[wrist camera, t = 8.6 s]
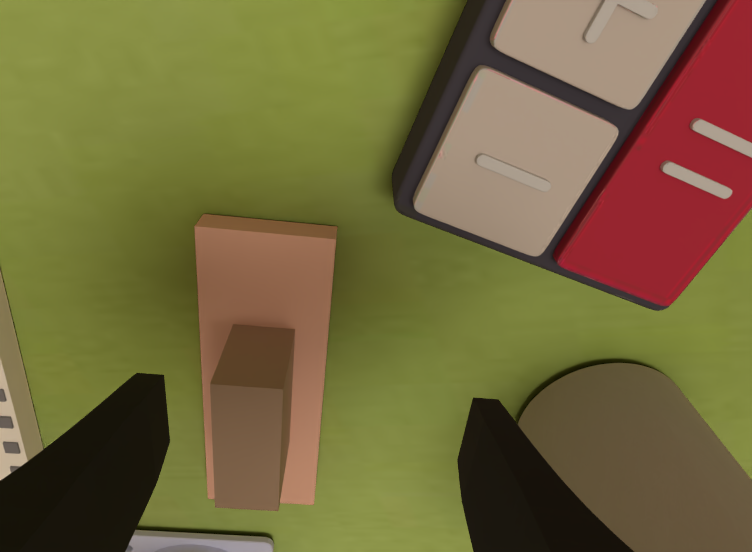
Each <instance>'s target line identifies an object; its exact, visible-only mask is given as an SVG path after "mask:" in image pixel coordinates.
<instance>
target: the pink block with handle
mask: <svg viewBox="0 0 752 552" xmlns="http://www.w3.org/2000/svg"><path fill="white" fill-rule="evenodd" d="M336 238H337V226H327V225H316V224H306V223H295V222H284V221H274V220H263V219H253V218H242V217H232V216H221V215H210V214H203V215H202V216H201V218H200V219H199V221H198V222H197V224H196V225H195V246H196V267H197V287H198V307H199V327H200V348H201V368H202V388H203V408H204V429H205V449H206V469H207V489H208V499H215V507H216V508H233V509H251V510H268V511H278V510H279V504H280V503H290V504H307V505H314V497H315V487H316V475H317V463H318V451H319V440H320V428H321V416H322V404H323V392H324V380H325V368H326V356H327V345H328V333H329V321H330V309H331V297H332V285H333V273H334V261H335V250H336Z"/></svg>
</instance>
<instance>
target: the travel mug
mask: <svg viewBox="0 0 752 552" xmlns="http://www.w3.org/2000/svg"><path fill="white" fill-rule="evenodd" d="M518 426H519V427H520V429H521V430H522V431H523V432H524V434H525V435H526V436H527V438H528V439H529V440H530V441H531V443H532V444H533V445H534V447H535V448H536V449H537V450H538V452H539V453H540V454H541V455H542V456H543V458H544V459H545V460H546V461H547V463H548V464H549V465H550V466H551V467H552V469H553V470H554V471H555V472H556V473H557V475H558V476H559V477H560V478H561V479H562V480H563V481H564V483H565V484H566V485H567V486H568V487H569V488H570V489H571V490H572V491H573V492H574V493H575V495H576V496H577V497H578V498H579V499H580V500H581V501H582V502H583V503H584V504H585V505H586V506H587V507H588V508H589V509H590V510H591V511H592V512H593V513H594V514H595V515H596V516H597V517H598V518H599V519H600V520H601V521H602V522H603V523H604V524H605V525H606V526H607V527H608V528H609V529H610V530H611V531H612V532H613V533H614V534H615V535H616V536H618V537H619V538H620V539H621V540H622V541H623V542H624V543H625V544H626V545H627V546H629V547H630V548H631V549H632V550H633V551H634V552H752V480H751V479H750V477H749V476H748V475H747V474H746V472H745V471H744V470H743V469H742V467H741V466H740V465H739V463H738V462H737V461H736V460H735V458H734V457H733V456H732V455H731V453H730V452H729V451H728V450H727V448H726V447H725V446H724V445H723V443H722V442H721V441H720V439H719V438H718V437H717V436H716V434H715V433H714V432H713V431H712V429H711V428H710V427H709V426H708V424H707V423H706V422H705V421H704V419H703V418H702V417H701V416H700V414H699V413H698V412H697V410H696V409H695V408H694V407H693V405H692V404H691V403H690V402H689V400H688V399H687V398H686V397H685V395H684V394H683V393H682V392H681V390H680V389H679V388H678V387H677V385H676V384H675V383H674V382H673V381H672V380H671V379H670V378H668V377H667V376H665V375H664V374H662V373H660V372H659V371H657V370H654V369H652V368H649V367H645V366H642V365H637V364H629V363H608V364H601V365H595V366H591V367H587V368H583V369H580V370H577V371H575V372H572V373H570V374H568V375H566V376H563V377H562V378H560V379H558V380H556V381H555V382H553V383H552V384H550V385H549V386H547V387H546V388H545V389H543V390H542V391H541V392H540V393H539V394H538V395H537V396H536V397H535V398H534V399H533V400H532V401H531V402H530V403H529V405H528V406H527V407H526V409H525V410H524V412H523V413H522V415H521V417H520V419H519V422H518Z"/></svg>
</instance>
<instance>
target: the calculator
mask: <svg viewBox="0 0 752 552" xmlns="http://www.w3.org/2000/svg"><path fill="white" fill-rule="evenodd" d="M392 184H393V198H394V205H395V208H396V210H397V211H398V212H399V213H401V214H402V215H405V216H407V217H410V218H412V219H415V220H417V221H420V222H423V223H425V224H428V225H431V226H433V227H436V228H438V229H441V230H444V231H446V232H449V233H452V234H454V235H457V236H459V237H462V238H465V239H467V240H470V241H473V242H475V243H478V244H481V245H483V246H486V247H488V248H491V249H494V250H496V251H499V252H502V253H504V254H507V255H509V256H512V257H515V258H517V259H520V260H523V261H525V262H528V263H530V264H533V265H536V266H538V267H541V268H544V269H546V270H549V271H551V272H554V273H557V274H559V275H562V276H565V277H567V278H570V279H573V280H575V281H578V282H580V283H583V284H586V285H588V286H591V287H594V288H596V289H599V290H601V291H604V292H607V293H609V294H612V295H615V296H617V297H620V298H622V299H625V300H628V301H630V302H633V303H636V304H638V305H641V306H643V307H646V308H649V309H652V310H656V311H659V310H664V309H666V308H668V307H669V306H670V305H671V304H672V303H673V302H674V301H675V300H676V299H677V298H678V297H679V295H680V294H681V293H682V292H683V291H684V289H685V288H686V287H687V286H688V285H689V283H690V282H691V281H692V280H693V279H694V277H695V276H696V275H697V274H698V272H699V271H700V270H701V269H702V268H703V266H704V265H705V264H706V263H707V262H708V260H709V259H710V258H711V257H712V256H713V254H714V253H715V252H716V251H717V250H718V248H719V247H720V246H721V245H722V243H723V242H724V241H725V240H726V239H727V237H728V236H729V235H730V234H731V233H732V231H733V230H734V229H735V228H736V227H737V225H738V224H739V223H740V222H741V221H742V219H743V218H744V217H745V216H746V215H747V213H748V212H749V211H750V210H751V208H752V0H468V1H467V3H466V6H465V8H464V10H463V12H462V15H461V17H460V19H459V21H458V24H457V26H456V28H455V30H454V33H453V35H452V37H451V39H450V42H449V44H448V46H447V49H446V51H445V53H444V55H443V58H442V60H441V62H440V65H439V67H438V69H437V71H436V74H435V76H434V78H433V81H432V83H431V85H430V87H429V90H428V92H427V94H426V97H425V99H424V101H423V103H422V106H421V108H420V110H419V113H418V115H417V117H416V119H415V122H414V124H413V126H412V129H411V131H410V133H409V136H408V138H407V140H406V142H405V145H404V147H403V149H402V152H401V154H400V156H399V159H398V161H397V163H396V165H395V168H394V170H393V173H392Z"/></svg>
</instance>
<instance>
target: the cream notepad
mask: <svg viewBox="0 0 752 552" xmlns="http://www.w3.org/2000/svg"><path fill="white" fill-rule="evenodd" d="M42 450H43V445H42V441H41V437H40V432H39V428H38V424H37V420H36V416H35V412H34V408H33V403H32V399H31V395H30V391H29V387H28V383H27V378H26V374H25V370H24V366H23V362H22V358H21V354H20V349H19V345H18V341H17V337H16V333H15V329H14V324H13V320H12V316H11V312H10V308H9V304H8V300H7V295H6V291H5V287H4V283H3V279H2V275H1V270H0V480H2V479H3V478H5V477H6V476H8V475H9V474H11V473H12V472H13V471H15V470H16V469H18V468H19V467H21V466H22V465H23V464H25V463H26V462H27V461H29V460H30V459H31V458H33V457H34V456H35V455H37V454H38V453H39V452H41V451H42Z"/></svg>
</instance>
